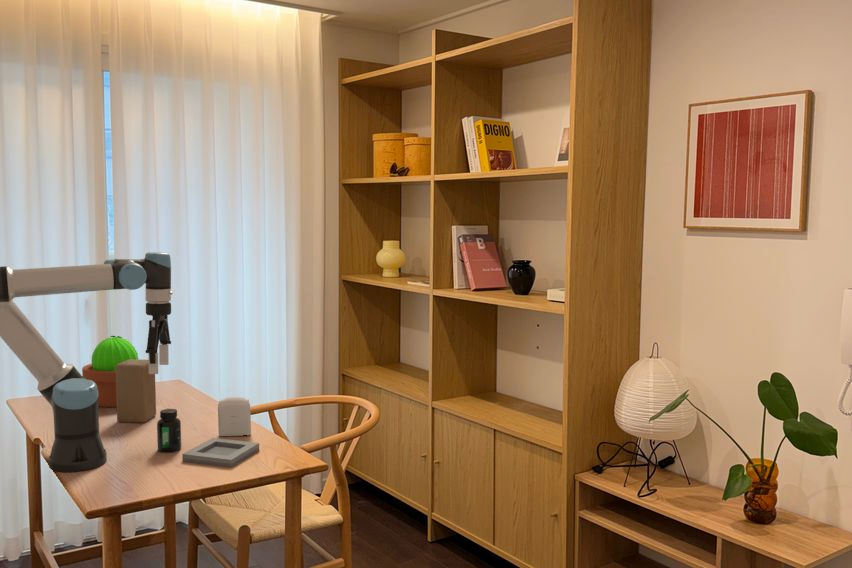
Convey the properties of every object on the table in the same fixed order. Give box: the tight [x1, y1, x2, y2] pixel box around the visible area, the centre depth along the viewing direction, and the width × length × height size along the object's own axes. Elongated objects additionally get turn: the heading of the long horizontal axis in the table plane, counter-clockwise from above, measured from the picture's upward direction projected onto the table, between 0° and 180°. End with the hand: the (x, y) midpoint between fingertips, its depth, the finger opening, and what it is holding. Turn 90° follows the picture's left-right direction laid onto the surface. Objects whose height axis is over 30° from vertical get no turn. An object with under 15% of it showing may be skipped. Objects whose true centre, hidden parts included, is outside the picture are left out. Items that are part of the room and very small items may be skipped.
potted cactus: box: [81, 335, 139, 408], centre depth 288 cm, size 22×22×25 cm
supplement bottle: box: [156, 408, 182, 454], centre depth 235 cm, size 7×7×12 cm
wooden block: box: [115, 358, 157, 424], centre depth 266 cm, size 10×10×20 cm
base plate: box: [181, 437, 260, 468], centre depth 230 cm, size 16×16×2 cm
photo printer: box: [217, 396, 252, 437], centre depth 249 cm, size 10×4×12 cm, turn 96°
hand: (158, 369), depth 244 cm, fingers open, 13 cm apart
